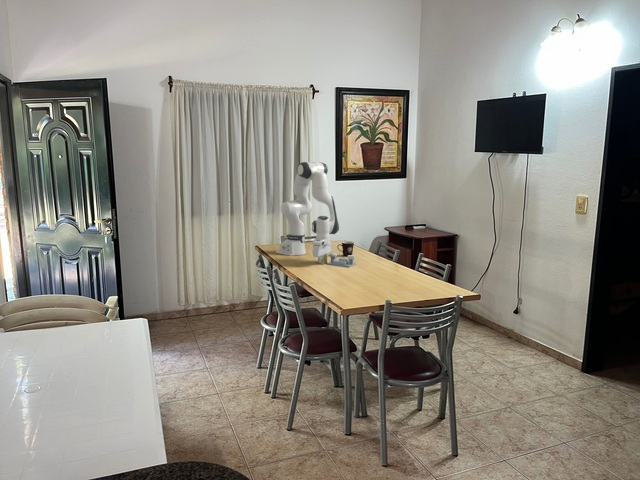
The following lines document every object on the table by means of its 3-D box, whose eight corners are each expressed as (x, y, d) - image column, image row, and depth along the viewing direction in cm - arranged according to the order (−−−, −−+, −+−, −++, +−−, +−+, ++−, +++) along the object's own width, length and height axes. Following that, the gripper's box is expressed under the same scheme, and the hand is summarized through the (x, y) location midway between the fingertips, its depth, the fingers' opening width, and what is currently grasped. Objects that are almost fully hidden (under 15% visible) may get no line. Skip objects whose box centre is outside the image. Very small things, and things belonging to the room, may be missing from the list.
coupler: (317, 263, 331) (317, 256, 330) (321, 262, 335) (321, 255, 334) (323, 264, 329) (323, 257, 328) (327, 263, 333) (327, 256, 332)
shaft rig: (326, 264, 330) (326, 254, 329) (333, 261, 340) (334, 251, 338) (350, 267, 321) (351, 257, 320) (357, 264, 331) (358, 254, 330)
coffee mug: (353, 254, 361) (354, 241, 360) (353, 257, 353) (353, 243, 351) (337, 254, 363) (338, 240, 361) (337, 256, 354) (337, 243, 352)
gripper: (326, 238, 340) (325, 257, 342) (311, 242, 322) (310, 263, 324) (334, 239, 337) (333, 258, 339) (319, 243, 319) (319, 264, 321)
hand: (322, 261), depth 332 cm, fingers closed on coupler, 4 cm apart
